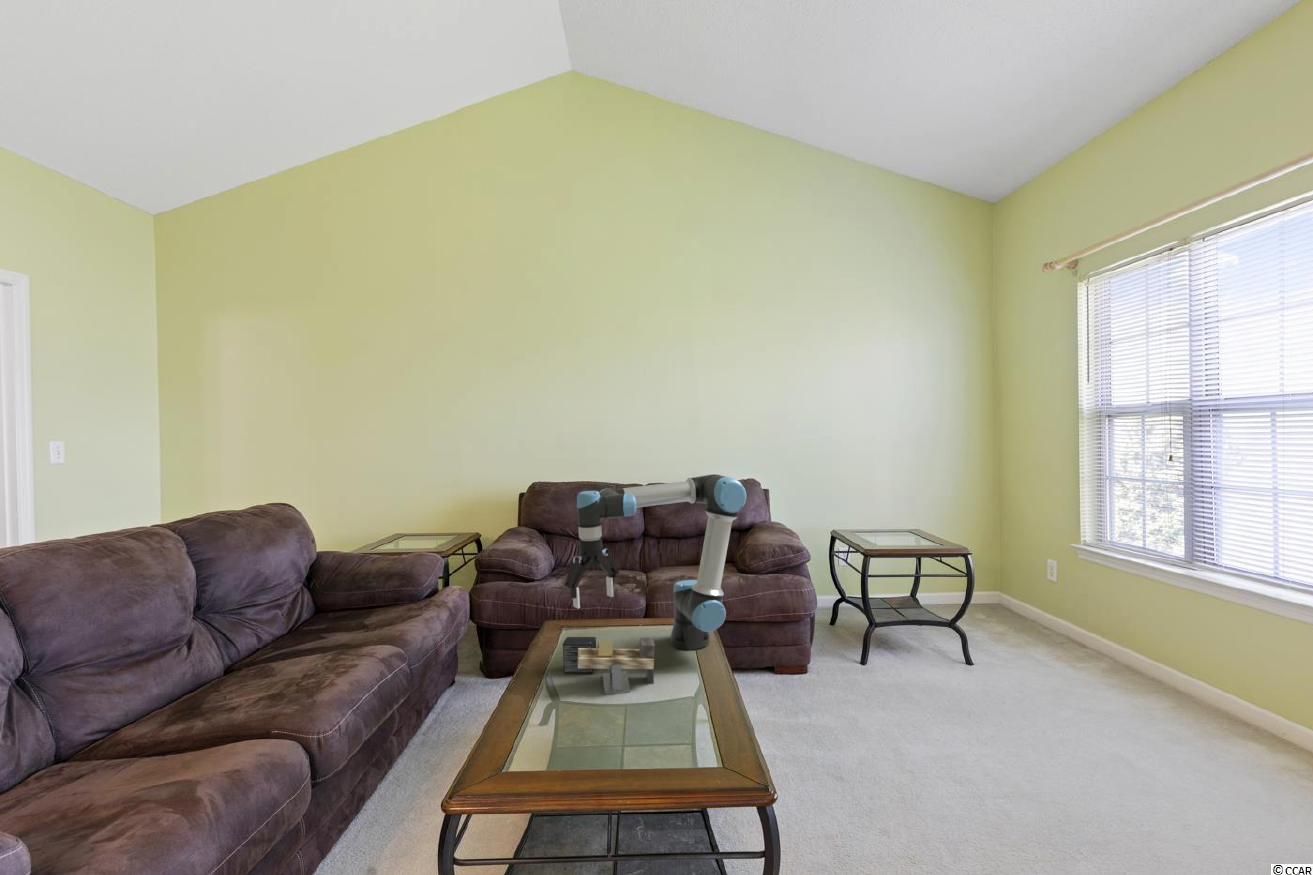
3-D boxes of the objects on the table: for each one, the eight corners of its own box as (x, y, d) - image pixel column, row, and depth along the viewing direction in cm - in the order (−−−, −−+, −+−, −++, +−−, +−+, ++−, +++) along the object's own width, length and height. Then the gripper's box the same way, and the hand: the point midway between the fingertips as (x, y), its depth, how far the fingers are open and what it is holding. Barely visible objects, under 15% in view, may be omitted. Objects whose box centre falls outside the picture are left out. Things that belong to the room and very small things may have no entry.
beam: (649, 657, 184) (651, 636, 184) (653, 670, 175) (655, 647, 175) (577, 656, 181) (579, 634, 180) (577, 669, 171) (579, 646, 171)
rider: (610, 656, 180) (611, 641, 180) (611, 662, 175) (613, 647, 175) (596, 656, 179) (598, 640, 179) (597, 662, 175) (598, 646, 175)
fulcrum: (649, 670, 186) (648, 644, 186) (655, 689, 174) (654, 661, 174) (602, 676, 184) (601, 649, 183) (604, 694, 172) (603, 666, 171)
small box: (597, 665, 192) (596, 636, 191) (593, 674, 185) (592, 644, 185) (568, 665, 193) (566, 635, 192) (563, 673, 186) (561, 643, 186)
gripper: (613, 529, 192) (616, 589, 193) (551, 544, 175) (555, 609, 177) (627, 532, 186) (630, 594, 188) (564, 547, 170) (568, 615, 171)
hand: (593, 601), depth 182 cm, fingers open, 13 cm apart
